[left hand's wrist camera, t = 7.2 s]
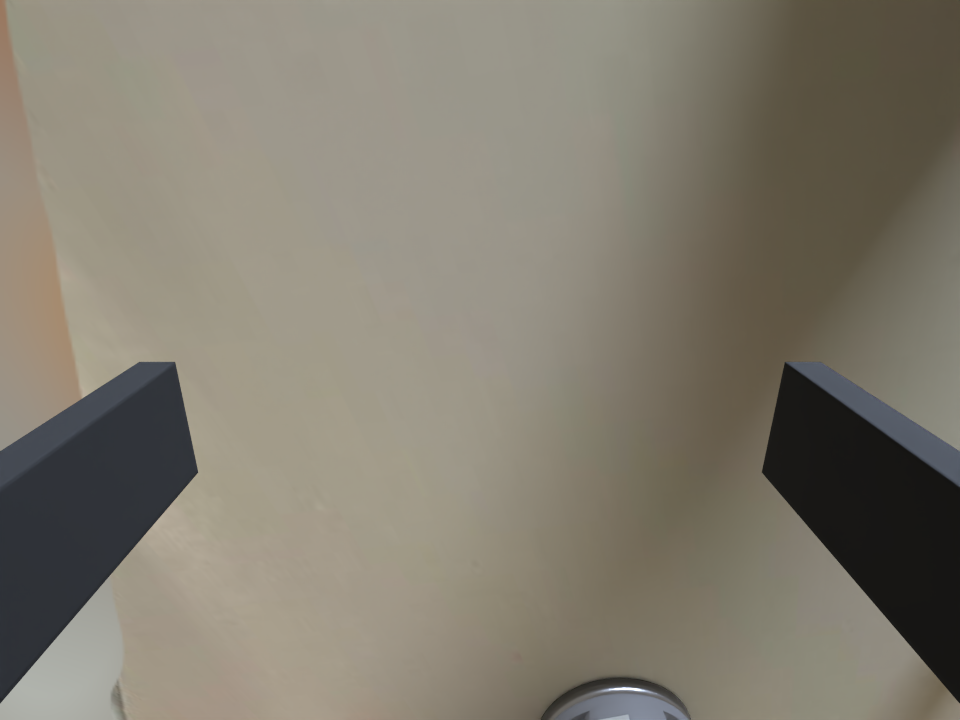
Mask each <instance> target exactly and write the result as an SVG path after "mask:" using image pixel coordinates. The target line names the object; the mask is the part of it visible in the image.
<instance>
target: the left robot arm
mask: <svg viewBox="0 0 960 720" xmlns="http://www.w3.org/2000/svg"><path fill="white" fill-rule="evenodd" d="M197 473H198V470H197V465H196V460H195V455H194V450H193V446H192V441H191V436H190V431H189V426H188V422H187V417H186V412H185V407H184V403H183V398H182V393H181V388H180V383H179V379H178V374H177V369H176V364H175V362H139V363H137V364H136V365H134V366H132V367H131V368H129V369H128V370H126V371H125V372H123V373H122V374H120V375H118V376H117V377H115V378H114V379H112V380H111V381H109V382H108V383H106V384H104V385H103V386H101V387H100V388H98V389H97V390H95V391H94V392H92V393H90V394H89V395H87V396H86V397H84V398H83V399H81V400H80V401H78V402H76V403H75V404H73V405H72V406H70V407H69V408H67V409H66V410H64V411H62V412H61V413H59V414H58V415H56V416H55V417H53V418H51V419H50V420H48V421H47V422H45V423H44V424H42V425H41V426H39V427H38V428H36V429H34V430H33V431H31V432H30V433H28V434H27V435H25V436H23V437H22V438H20V439H19V440H17V441H16V442H14V443H13V444H11V445H9V446H8V447H6V448H5V449H3V450H2V451H0V703H1V702H2V701H3V700H4V698H5V697H6V696H7V695H8V694H9V693H10V691H11V690H12V689H13V688H14V687H15V685H16V684H17V683H18V682H19V681H20V680H21V679H22V677H23V676H24V675H25V674H26V673H27V672H28V670H29V669H30V668H31V667H32V666H33V664H34V663H35V662H36V661H37V660H38V659H39V658H40V656H41V655H42V654H43V653H44V652H45V650H46V649H47V648H48V647H49V646H50V645H51V643H52V642H53V641H54V640H55V639H56V638H57V636H58V635H59V634H60V633H61V632H62V631H63V629H64V628H65V627H66V626H67V625H68V624H69V622H70V621H71V620H72V619H73V618H74V617H75V615H76V614H77V613H78V612H79V611H80V610H81V608H82V607H83V606H84V605H85V604H86V603H87V601H88V600H89V599H90V598H91V597H92V596H93V594H94V593H95V592H96V591H97V590H98V589H99V587H100V586H101V585H102V584H103V583H104V582H105V580H106V579H107V578H108V577H109V576H110V575H111V573H112V572H113V571H114V570H115V569H116V568H117V566H118V565H119V564H120V563H121V562H122V561H123V559H124V558H125V557H126V556H127V555H128V554H129V552H130V551H131V550H132V549H133V548H134V547H135V545H136V544H137V543H138V542H139V541H140V540H141V538H142V537H143V536H144V535H145V534H146V533H147V531H148V530H149V529H150V528H151V527H152V526H153V524H154V523H155V522H156V521H157V520H158V519H159V517H160V516H161V515H162V514H163V513H164V512H165V510H166V509H167V508H168V507H169V506H170V505H171V503H172V502H173V501H174V500H175V499H176V498H177V496H178V495H179V494H180V493H181V492H182V491H183V489H184V488H185V487H186V486H187V485H188V484H189V482H190V481H191V480H192V479H193V478H194V477H195V475H196V474H197ZM762 473H763V474H764V475H765V477H766V478H767V479H768V480H769V481H770V482H771V484H772V485H773V486H774V487H775V488H776V489H777V491H778V492H779V493H780V494H781V495H782V496H783V498H784V499H785V500H786V501H787V502H788V503H789V505H790V506H791V507H792V508H793V509H794V510H795V512H796V513H797V514H798V515H799V516H800V517H801V519H802V520H803V521H804V522H805V523H806V524H807V526H808V527H809V528H810V529H811V530H812V531H813V533H814V534H815V535H816V536H817V537H818V538H819V540H820V541H821V542H822V543H823V544H824V545H825V547H826V548H827V549H828V550H829V551H830V552H831V554H832V555H833V556H834V557H835V558H836V559H837V561H838V562H839V563H840V564H841V565H842V566H843V568H844V569H845V570H846V571H847V572H848V573H849V575H850V576H851V577H852V578H853V579H854V580H855V582H856V583H857V584H858V585H859V586H860V587H861V589H862V590H863V591H864V592H865V593H866V594H867V596H868V597H869V598H870V599H871V600H872V601H873V603H874V604H875V605H876V606H877V607H878V608H879V610H880V611H881V612H882V613H883V614H884V615H885V617H886V618H887V619H888V620H889V621H890V622H891V624H892V625H893V626H894V627H895V628H896V629H897V631H898V632H899V633H900V634H901V635H902V636H903V638H904V639H905V640H906V641H907V642H908V643H909V645H910V646H911V647H912V648H913V649H914V651H915V652H916V653H917V654H918V655H919V656H920V658H921V659H922V660H923V661H924V662H925V663H926V665H927V666H928V667H929V668H930V669H931V670H932V672H933V673H934V674H935V675H936V676H937V677H938V679H939V680H940V681H941V682H942V683H943V684H944V686H945V687H946V688H947V689H948V690H949V691H950V693H951V694H952V695H953V696H954V697H955V698H956V700H957V701H958V702H959V703H960V451H958V450H957V449H955V448H954V447H952V446H951V445H949V444H947V443H946V442H944V441H943V440H941V439H940V438H938V437H937V436H935V435H933V434H932V433H930V432H929V431H927V430H926V429H924V428H923V427H921V426H919V425H918V424H916V423H915V422H913V421H912V420H910V419H909V418H907V417H905V416H904V415H902V414H901V413H899V412H898V411H896V410H895V409H893V408H891V407H890V406H888V405H887V404H885V403H884V402H882V401H880V400H879V399H877V398H876V397H874V396H873V395H871V394H870V393H868V392H866V391H865V390H863V389H862V388H860V387H859V386H857V385H856V384H854V383H852V382H851V381H849V380H848V379H846V378H845V377H843V376H842V375H840V374H838V373H837V372H835V371H834V370H832V369H831V368H829V367H828V366H826V365H824V364H823V363H821V362H785V364H784V369H783V374H782V379H781V383H780V388H779V393H778V398H777V403H776V407H775V412H774V417H773V422H772V426H771V431H770V436H769V441H768V446H767V450H766V455H765V460H764V465H763V470H762ZM541 720H691V718H690V716H689V713H688V711H687V709H686V707H685V706H684V704H683V703H682V702H681V701H680V699H679V698H677V697H676V696H675V695H674V694H673V693H671V692H670V691H668V690H667V689H665V688H663V687H661V686H659V685H656V684H653V683H650V682H647V681H643V680H637V679H629V678H613V679H604V680H599V681H594V682H590V683H587V684H584V685H581V686H579V687H577V688H574V689H572V690H571V691H569V692H567V693H565V694H564V695H562V696H561V697H560V698H558V699H557V700H556V701H555V702H554V703H553V704H552V705H551V706H550V707H549V708H548V709H547V711H546V712H545V713H544V715H543V717H542V719H541Z"/></svg>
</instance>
